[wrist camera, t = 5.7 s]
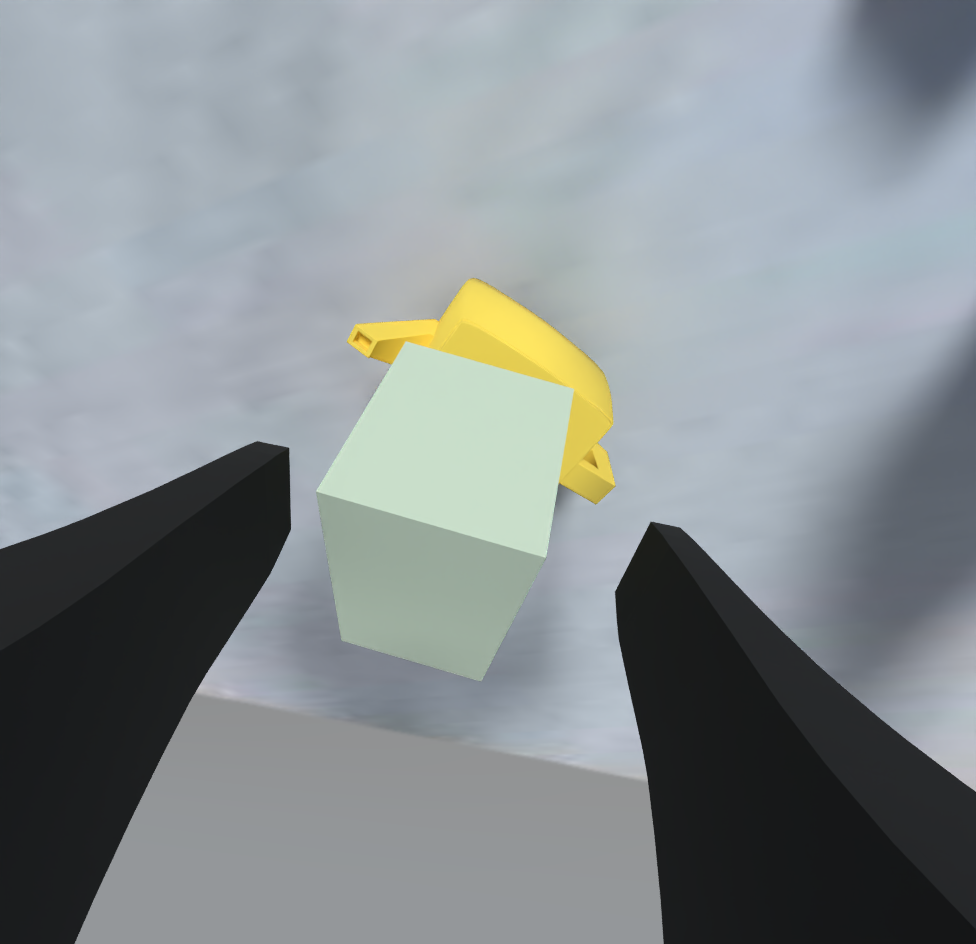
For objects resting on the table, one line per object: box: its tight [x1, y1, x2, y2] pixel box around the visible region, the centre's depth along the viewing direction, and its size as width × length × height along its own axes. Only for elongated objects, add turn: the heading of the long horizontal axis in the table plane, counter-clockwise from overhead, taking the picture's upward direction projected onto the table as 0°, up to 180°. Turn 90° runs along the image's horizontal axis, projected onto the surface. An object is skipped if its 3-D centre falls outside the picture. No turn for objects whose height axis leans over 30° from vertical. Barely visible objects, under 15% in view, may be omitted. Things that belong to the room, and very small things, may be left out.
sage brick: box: [316, 341, 574, 681], centre depth 11 cm, size 6×4×4 cm, turn 169°
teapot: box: [347, 278, 615, 504], centre depth 14 cm, size 8×6×5 cm
